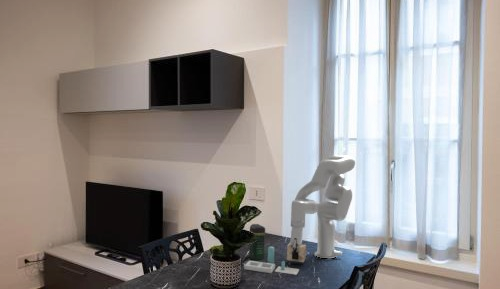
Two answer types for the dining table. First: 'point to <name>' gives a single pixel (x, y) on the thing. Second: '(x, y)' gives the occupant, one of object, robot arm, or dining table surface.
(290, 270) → the card
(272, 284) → the dining table surface
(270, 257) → the pin
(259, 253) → the coffee jar
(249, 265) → the socket board
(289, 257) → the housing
